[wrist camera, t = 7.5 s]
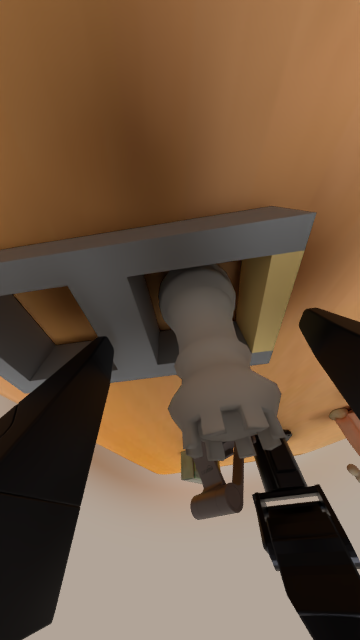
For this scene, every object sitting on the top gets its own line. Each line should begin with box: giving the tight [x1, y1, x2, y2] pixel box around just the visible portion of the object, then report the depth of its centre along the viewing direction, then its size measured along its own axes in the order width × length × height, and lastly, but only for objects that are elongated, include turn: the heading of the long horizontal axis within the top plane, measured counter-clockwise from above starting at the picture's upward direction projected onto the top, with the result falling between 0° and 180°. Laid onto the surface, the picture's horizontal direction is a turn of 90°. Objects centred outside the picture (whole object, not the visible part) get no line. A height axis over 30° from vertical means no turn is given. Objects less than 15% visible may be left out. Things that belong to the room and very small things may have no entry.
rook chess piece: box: [158, 264, 286, 461], centre depth 7 cm, size 4×4×8 cm
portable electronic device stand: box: [191, 435, 256, 520], centre depth 23 cm, size 9×8×8 cm
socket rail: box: [0, 206, 316, 393], centre depth 9 cm, size 8×16×3 cm, turn 98°
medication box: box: [181, 451, 221, 484], centre depth 32 cm, size 12×3×4 cm, turn 33°
